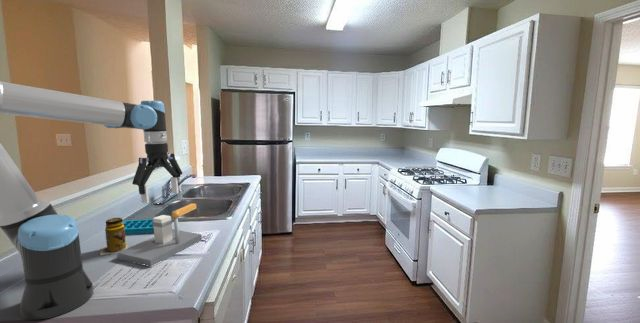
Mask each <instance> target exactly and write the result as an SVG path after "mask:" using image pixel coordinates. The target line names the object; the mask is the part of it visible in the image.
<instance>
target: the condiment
mask: <svg viewBox="0 0 640 323" xmlns="http://www.w3.org/2000/svg"><path fill="white" fill-rule="evenodd" d="M104 231H105V240H106V241H105V242H106V246H105V247H101V248H100V254H99V255H100V256H104V255H111V254H116V253H118V252H120V251H122V250H125V249H127V248H128V242H127V241H126V234H125V229H124V225H123V218H122V217H112V218H108V219H106V221H105V229H104Z"/></svg>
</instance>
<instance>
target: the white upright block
mask: <svg viewBox="0 0 640 323" xmlns="http://www.w3.org/2000/svg"><path fill="white" fill-rule="evenodd" d="M152 219H153V222H152V224H153V226H154V233H153V235H154V236H153V237H154V238H155V243H158V244H165V243H167V242H169V241H172V240H173V237H172V229H173V228H172V227H173V225H172V224H173V220H172V215H168V214H167V215H166V214H162V215H159V216H158V215H157V216H156V217H155V216H154V217H153V218H152Z"/></svg>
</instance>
